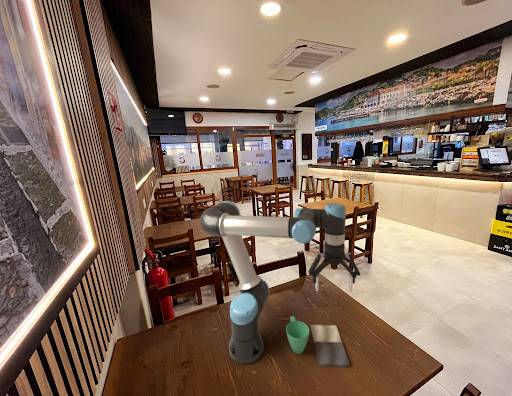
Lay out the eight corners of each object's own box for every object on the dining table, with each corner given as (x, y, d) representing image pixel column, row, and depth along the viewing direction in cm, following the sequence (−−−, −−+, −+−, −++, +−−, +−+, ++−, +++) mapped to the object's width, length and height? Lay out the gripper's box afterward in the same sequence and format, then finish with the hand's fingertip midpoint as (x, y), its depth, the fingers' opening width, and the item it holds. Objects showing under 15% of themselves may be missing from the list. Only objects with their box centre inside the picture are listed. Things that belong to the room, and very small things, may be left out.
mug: (312, 357, 92) (312, 336, 90) (289, 360, 91) (289, 340, 89) (301, 329, 106) (301, 311, 104) (281, 332, 105) (280, 314, 103)
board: (318, 366, 88) (318, 363, 88) (310, 327, 108) (310, 324, 107) (349, 367, 87) (349, 364, 87) (336, 327, 107) (336, 324, 106)
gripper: (303, 246, 86) (304, 295, 90) (371, 245, 83) (368, 295, 88) (301, 239, 93) (302, 284, 97) (363, 238, 91) (361, 284, 95)
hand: (333, 289), depth 93 cm, fingers open, 13 cm apart
